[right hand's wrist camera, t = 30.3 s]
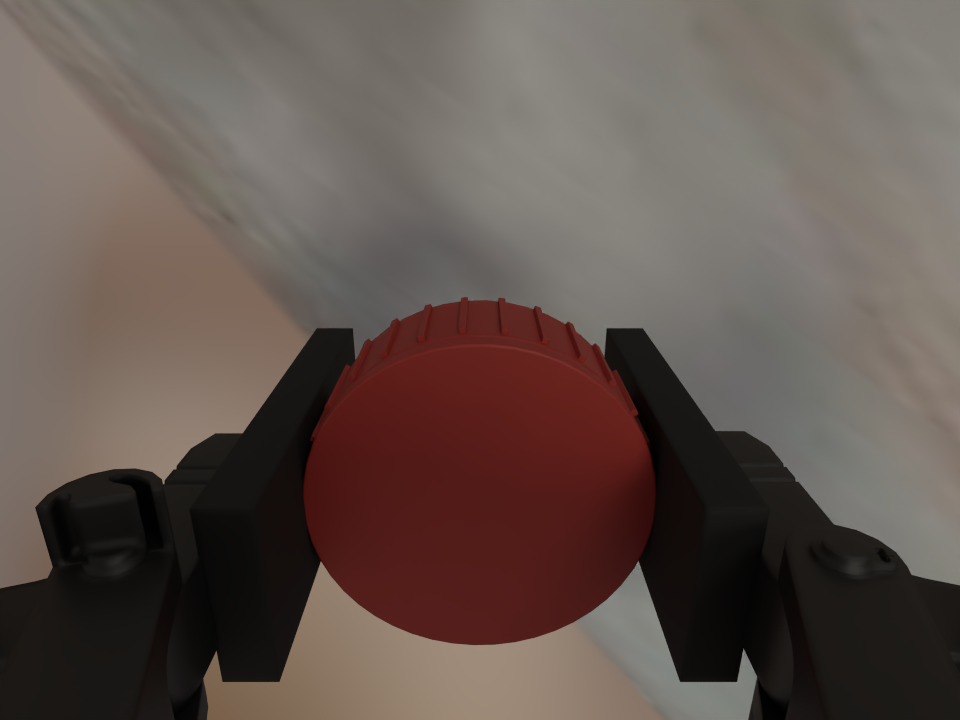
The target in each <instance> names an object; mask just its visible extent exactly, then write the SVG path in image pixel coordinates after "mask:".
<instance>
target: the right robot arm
mask: <svg viewBox="0 0 960 720" xmlns="http://www.w3.org/2000/svg"><path fill="white" fill-rule="evenodd" d="M605 360H606V362H607V364H608V366H609V368H610V370H611V371H614V370H617V372H618V374H619V376H620V378H621V380H622V382H623V384H624V386H625V388H626V390H627V392H628V394H629V396H630V398H631V400H632V402H633V404H634V406H635V408H636V410H637V412H638V415H637V417H638V419H639V421H640V423H641V425H642V427H643V429H644V431H645V433H646V435H647V437H648V439H649V441H650V444H651V447H650V448H649V451H650V453H651V457H652V461H653V465H654V470H655V474H656V487H657V489H656V503H655V511H654V520H653V526H652V530H651V534H650V537H649V539H648V542H647V544H646V547H645V549H644V551H643V554H642V555H641V557H640V559H639V563H640V566H641V569H642V572H643V575H644V578H645V581H646V584H647V586H648V589H649V592H650V595H651V598H652V601H653V604H654V607H655V610H656V613H657V616H658V619H659V622H660V624H661V627H662V630H663V633H664V636H665V639H666V642H667V645H668V648H669V651H670V654H671V657H672V659H673V662H674V665H675V668H676V671H677V674H678V677H679V680H680V682H737V679H738V674H739V668H740V663H741V658H742V653H743V648H744V650H745V652H746V654H747V656H748V658H749V660H750V662H751V665H752V667H753V669H754V671H755V673H756V675H757V680H756V685H755V690H754V695H753V700H752V704H751V709H750V714H749V719H748V720H960V585H955V584H950V583H945V582H940V581H935V580H930V579H925V578H921V577H917V576H913V575H911V573H910V571H909V569H908V567H907V565H906V564H905V563H904V562H903V560H902V559H901V558H900V557H899V555H898V554H897V553H896V552H895V551H893V550H892V549H891V548H889V547H888V546H886V545H885V544H883V543H882V542H881V541H879V540H878V539H875V538H873V537H871V536H868V535H866V534H864V533H862V532H859V531H857V530H854V529H850V528H846V527H841V526H837V525H834V524H833V523H832V522H831V521H830V519H829V518H828V517H827V516H826V515H825V513H824V512H823V511H822V510H821V509H820V507H819V506H818V505H817V504H816V502H815V501H814V500H813V499H812V498H811V496H810V495H809V494H808V493H807V492H806V490H805V489H804V488H803V487H802V486H801V484H800V483H799V482H796V481H795V477H794V476H793V475H792V474H791V472H790V471H789V470H788V469H787V467H783V463H782V461H781V460H780V459H779V458H778V457H777V455H776V454H775V453H774V452H773V451H772V449H771V448H770V447H769V446H768V445H766V444H764V443H763V442H761V441H759V440H758V439H756V438H755V437H753V436H751V435H750V434H748V433H746V432H745V431H715V430H714V429H713V427H712V426H711V425H710V423H709V422H708V420H707V419H706V417H705V416H704V415H703V413H702V412H701V410H700V409H699V408H698V406H697V405H696V403H695V402H694V400H693V399H692V398H691V396H690V395H689V393H688V392H687V390H686V389H685V388H684V386H683V385H682V383H681V382H680V381H679V379H678V378H677V376H676V375H675V373H674V372H673V371H672V369H671V368H670V366H669V365H668V364H667V362H666V361H665V359H664V358H663V356H662V355H661V354H660V352H659V351H658V349H657V348H656V347H655V345H654V344H653V342H652V341H651V339H650V338H649V337H648V335H647V334H646V332H645V331H644V330H643V328H607V332H606V346H605ZM354 361H355V351H354V338H353V328H317V329H316V330H315V332H314V333H313V335H312V336H311V337H310V339H309V340H308V342H307V343H306V345H305V346H304V347H303V349H302V350H301V352H300V353H299V354H298V356H297V357H296V359H295V360H294V362H293V363H292V364H291V366H290V367H289V369H288V370H287V371H286V373H285V374H284V376H283V377H282V379H281V380H280V381H279V383H278V384H277V386H276V387H275V389H274V390H273V391H272V393H271V394H270V396H269V397H268V398H267V400H266V401H265V403H264V404H263V405H262V407H261V408H260V410H259V411H258V413H257V414H256V415H255V417H254V418H253V420H252V421H251V422H250V424H249V425H248V427H247V428H246V430H245V431H244V433H242V434H241V433H240V434H239V433H237V434H236V433H235V434H234V433H233V434H222V433H220V434H214V435H212V436H211V437H209V438H207V439H206V440H204V441H202V442H201V443H199V444H198V445H196V446H194V447H193V448H191V449H190V450H189V452H188V453H187V454H186V455H185V456H184V458H183V459H182V460H181V461H180V463H179V464H178V465H177V469H176V470H173V471H172V472H171V473H170V475H169V476H168V477H167V478H166V480H165V484H163V483H162V479H161V478H159V477H158V476H157V475H155V474H154V473H153V472H150V471H145V470H140V469H113V470H108V471H104V472H99V473H94V474H90V475H87V476H84V477H82V478H79V479H76V480H74V481H71V482H68V483H66V484H64V485H63V486H61V487H59V488H58V489H56V490H54V491H53V492H51V493H49V494H48V495H47V496H46V497H45V498H44V499H43V500H42V501H41V502H40V503H39V504H38V505H37V506H36V507H35V508H36V512H37V515H38V518H39V522H40V525H41V528H42V532H43V535H44V539H45V542H46V545H47V549H48V552H49V556H50V559H51V562H52V566H53V568H52V570H51V572H50V574H49V576H48V578H47V579H43V580H39V581H35V582H30V583H25V584H20V585H15V586H10V587H5V588H1V589H0V720H207V712H208V703H207V696H206V690H205V685H204V681H203V678H204V675H205V673H206V671H207V669H208V667H209V665H210V663H211V661H212V659H213V657H214V655H215V652H216V650H217V655H218V660H219V665H220V671H221V676H222V681H223V682H279V681H280V679H281V676H282V673H283V670H284V667H285V664H286V661H287V658H288V655H289V652H290V649H291V647H292V644H293V641H294V638H295V635H296V632H297V629H298V626H299V623H300V620H301V617H302V614H303V612H304V609H305V606H306V603H307V600H308V597H309V594H310V591H311V588H312V585H313V582H314V579H315V576H316V573H317V571H318V568H319V565H320V562H321V560H320V558H319V556H318V554H317V552H316V550H315V548H314V546H313V544H312V541H311V538H310V535H309V531H308V528H307V524H306V515H305V507H304V498H303V479H304V473H305V467H306V462H307V459H308V456H309V453H310V450H311V447H312V444H313V442H312V441H310V438H311V435H312V433H313V431H314V429H315V427H316V425H317V423H318V421H319V419H320V417H321V415H322V413H323V411H324V409H325V408H324V407H325V405H326V403H327V401H328V399H329V397H330V395H331V393H332V391H333V389H334V387H335V385H336V383H337V381H338V379H339V377H340V375H341V374H342V372H343V370H344V368H345V366H346V365H349V366H352V364H353V363H354Z"/></svg>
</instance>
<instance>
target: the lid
mask: <svg viewBox="0 0 960 720" xmlns="http://www.w3.org/2000/svg"><path fill="white" fill-rule="evenodd" d="M324 408H325V409H324V411H323V413H322V415H321V417H320V419H319V421H318V423H317V425H316V427H315V429H314V431H313V433H312V435H311V438H310V441H312V442H313V444H312V447H311V450H310V453H309V456H308V459H307V462H306V467H305V473H304V479H303V498H304V507H305V515H306V524H307V528H308V531H309V535H310V538H311V541H312V544H313V546H314V548H315V550H316V552H317V554H318V556H319V558H320V560H321V562H322V563H323V565H324V566H325V568H326V569H327V571H328V572H329V574H330V575H331V577H332V578H333V579H334V580H335V581H336V583H337V584H338V585H339V586H340V587H341V588H342V589H343V591H344V592H346V593H347V594H348V595H349V596H350V597H351V598H352V599H353V600H354V601H355V602H357V603H358V604H359V605H360V606H362V607H363V608H365V609H366V610H367V611H369V612H370V613H372V614H373V615H374V616H376V617H378V618H380V619H382V620H383V621H385V622H387V623H389V624H391V625H393V626H395V627H397V628H400V629H402V630H404V631H407V632H409V633H412V634H415V635H419V636H422V637H425V638H429V639H432V640H437V641H443V642H448V643H456V644H468V645H494V644H503V643H511V642H517V641H522V640H526V639H531V638H535V637H538V636H541V635H544V634H547V633H550V632H553V631H555V630H558V629H560V628H562V627H564V626H566V625H569V624H571V623H573V622H575V621H576V620H578V619H580V618H581V617H583V616H585V615H586V614H588V613H590V612H591V611H592V610H594V609H595V608H596V607H598V606H599V605H600V604H601V603H603V602H604V601H605V600H607V599H608V598H609V597H610V596H611V595H612V594H613V593H614V592H615V591H616V590H617V589H618V588H619V587H620V586H621V585H622V583H623V582H624V581H625V579H626V578H627V577H628V576H629V574H630V573H631V572H632V570H633V569H634V567H635V566H636V564H637V562H638V560H639V559H640V557H641V555H642V554H643V551H644V549H645V547H646V544H647V542H648V539H649V537H650V534H651V530H652V526H653V520H654V511H655V503H656V489H657V487H656V474H655V470H654V465H653V461H652V457H651V453H650V451H649V448H650V447H651V444H650V441H649V439H648V437H647V435H646V433H645V431H644V429H643V427H642V425H641V423H640V421H639V419H638V417H637V415H638V412H637V410H636V408H635V406H634V404H633V402H632V400H631V398H630V396H629V394H628V392H627V390H626V388H625V386H624V384H623V382H622V380H621V378H620V376H619V374H618V372H617V370H614V371H611V370H610V368H609V366H608V364H607V362H606V360H605V358H604V356H603V354H602V352H601V350H600V348H599V346H598V345H597V344H596V343H595V344H594V345H593V346H592V345H591V344H589V343H588V342H587V341H586V340H585V339H584V338H583V337H582V336H581V335H580V334H578V333H577V332H576V331H575V328H574V326H573V324H571V323H570V322H567V323H566V324H564V323H562V322H560V321H558V320H556V319H555V318H553V317H551V316H549V315H547V314H544V313H542V310H541V308H540V307H537V306H535V307H534V309H531V308H528V307H524V306H520V305H516V304H511V303H507V302H505V299H504V298H499V299H498V302H497V301H487V300H482V301H468V297H464V298H461V302H455V303H448V304H443V305H439V306H436V307H432V305H431V304H429V305H425V308H424V310H423V311H420V312H418V313H416V314H413V315H411V316H409V317H406V318H404V319H403V320H401V321H399V320H398V318H396V319H395V320H393V321H392V323H391V325H390V327H389V328H388V329H387V330H385V331H384V332H383V333H382V334H380V335H379V336H378V337H377V338H375V339H374V340H373V341H371V340H370V339H368V340H367V341H366V342H365V343H364V345H363V347H362V349H361V351H360V353H359V356H358V357H357V359H356V360H355V361H354V363H353V364H352V366H349V365H346V366H345V368H344V370H343V372H342V374H341V375H340V377H339V379H338V381H337V383H336V385H335V387H334V389H333V391H332V393H331V395H330V397H329V399H328V401H327V403H326V405H325V407H324Z"/></svg>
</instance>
